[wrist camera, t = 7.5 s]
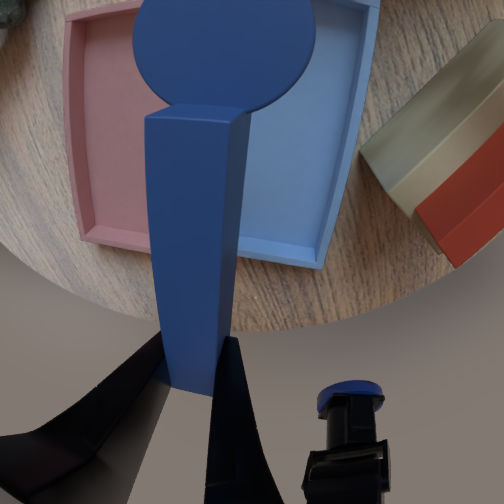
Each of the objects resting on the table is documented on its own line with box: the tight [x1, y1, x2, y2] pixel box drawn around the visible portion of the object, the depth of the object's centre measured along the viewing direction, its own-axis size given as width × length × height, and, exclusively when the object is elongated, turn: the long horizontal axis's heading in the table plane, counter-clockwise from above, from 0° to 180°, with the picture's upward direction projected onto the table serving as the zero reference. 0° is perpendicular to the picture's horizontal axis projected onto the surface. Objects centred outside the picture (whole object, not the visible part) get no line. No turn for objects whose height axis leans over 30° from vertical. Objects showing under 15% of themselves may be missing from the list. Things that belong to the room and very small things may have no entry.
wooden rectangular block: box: [359, 19, 504, 255], centre depth 10 cm, size 13×4×6 cm, turn 142°
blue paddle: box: [132, 0, 316, 397], centre depth 7 cm, size 12×4×2 cm, turn 174°
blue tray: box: [237, 0, 381, 270], centre depth 14 cm, size 15×8×2 cm, turn 174°
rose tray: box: [63, 0, 170, 254], centre depth 15 cm, size 15×8×2 cm, turn 174°
